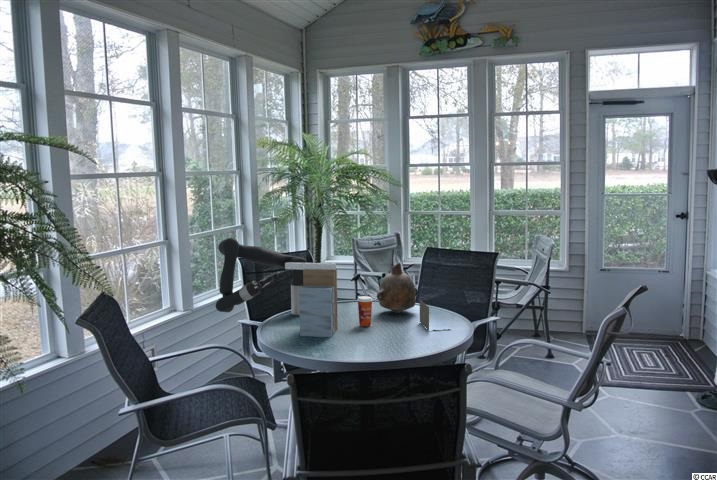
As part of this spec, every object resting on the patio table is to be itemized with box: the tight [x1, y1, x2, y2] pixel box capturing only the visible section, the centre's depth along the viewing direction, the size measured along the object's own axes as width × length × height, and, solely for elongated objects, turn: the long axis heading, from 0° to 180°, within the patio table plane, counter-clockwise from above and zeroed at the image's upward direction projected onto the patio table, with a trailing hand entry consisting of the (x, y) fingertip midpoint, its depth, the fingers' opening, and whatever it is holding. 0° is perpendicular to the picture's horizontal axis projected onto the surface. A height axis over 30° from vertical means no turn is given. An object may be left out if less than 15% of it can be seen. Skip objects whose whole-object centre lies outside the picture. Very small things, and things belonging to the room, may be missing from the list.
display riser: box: [299, 268, 339, 338], centre depth 290 cm, size 15×16×32 cm
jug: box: [376, 262, 418, 314], centre depth 330 cm, size 24×21×30 cm
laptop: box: [419, 299, 430, 331], centre depth 301 cm, size 18×12×13 cm
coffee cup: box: [356, 295, 373, 327], centre depth 304 cm, size 8×8×15 cm
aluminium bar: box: [284, 262, 337, 270], centre depth 293 cm, size 4×26×3 cm, turn 80°
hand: (275, 276), depth 297 cm, fingers open, 8 cm apart
